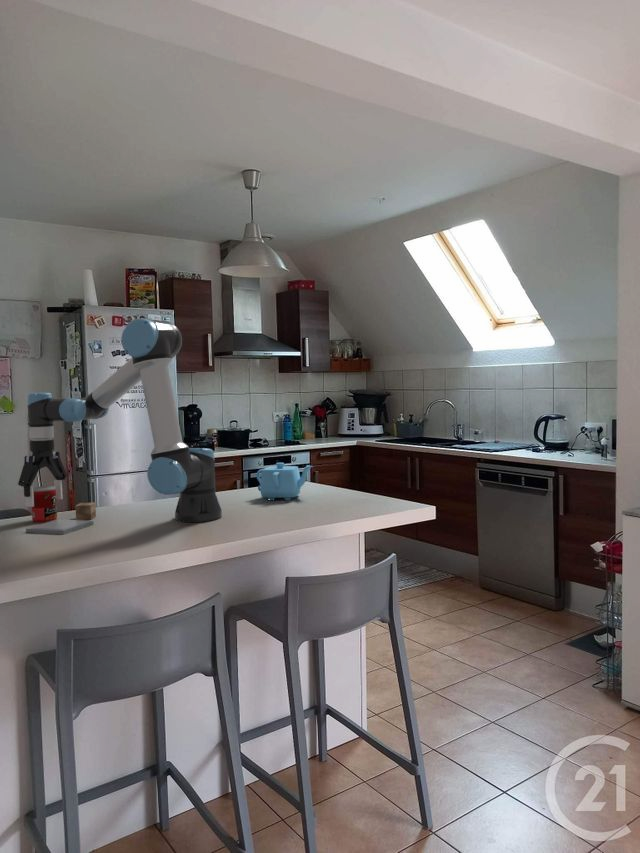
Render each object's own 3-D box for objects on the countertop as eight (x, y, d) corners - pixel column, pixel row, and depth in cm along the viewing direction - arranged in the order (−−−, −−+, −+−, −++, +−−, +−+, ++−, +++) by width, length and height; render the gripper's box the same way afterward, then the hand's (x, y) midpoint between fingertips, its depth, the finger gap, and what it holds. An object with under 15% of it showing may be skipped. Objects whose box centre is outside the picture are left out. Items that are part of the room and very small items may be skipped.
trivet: (93, 524, 213) (93, 520, 213) (63, 534, 200) (63, 530, 200) (57, 522, 218) (57, 519, 218) (26, 532, 204) (25, 528, 204)
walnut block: (95, 517, 226) (95, 502, 226) (91, 520, 221) (90, 505, 221) (81, 517, 226) (80, 502, 226) (76, 520, 221) (75, 505, 221)
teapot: (270, 503, 241) (269, 466, 240) (252, 497, 256) (251, 462, 255) (314, 498, 250) (313, 462, 249) (294, 492, 264) (293, 458, 264)
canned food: (48, 523, 218) (46, 489, 217) (27, 522, 220) (25, 489, 219) (62, 518, 225) (60, 485, 225) (41, 517, 227) (39, 485, 226)
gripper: (58, 435, 234) (60, 495, 235) (3, 442, 210) (7, 509, 212) (76, 436, 232) (78, 496, 233) (23, 443, 208) (26, 510, 209)
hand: (44, 502), depth 222 cm, fingers open, 13 cm apart
